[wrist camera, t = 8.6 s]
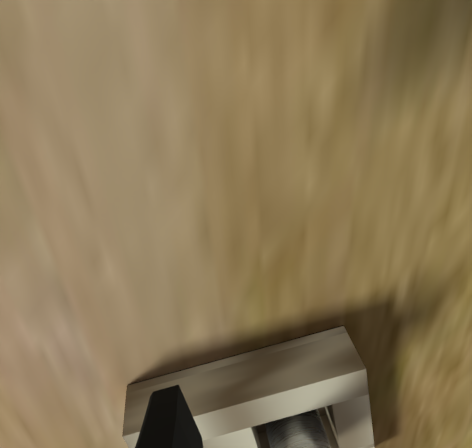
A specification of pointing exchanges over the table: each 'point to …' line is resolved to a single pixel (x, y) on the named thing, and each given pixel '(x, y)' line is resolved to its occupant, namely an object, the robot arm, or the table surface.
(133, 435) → the socket block
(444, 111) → the table surface
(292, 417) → the pin
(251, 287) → the table surface
